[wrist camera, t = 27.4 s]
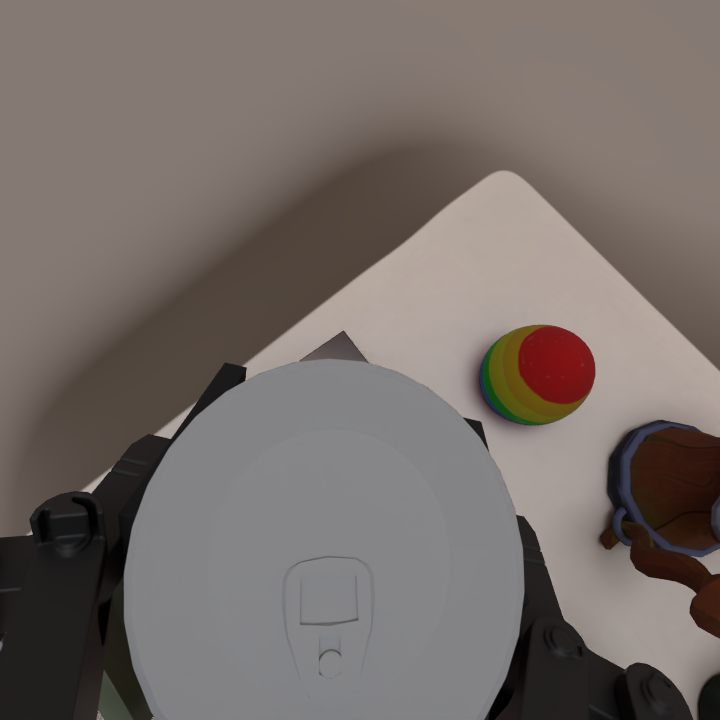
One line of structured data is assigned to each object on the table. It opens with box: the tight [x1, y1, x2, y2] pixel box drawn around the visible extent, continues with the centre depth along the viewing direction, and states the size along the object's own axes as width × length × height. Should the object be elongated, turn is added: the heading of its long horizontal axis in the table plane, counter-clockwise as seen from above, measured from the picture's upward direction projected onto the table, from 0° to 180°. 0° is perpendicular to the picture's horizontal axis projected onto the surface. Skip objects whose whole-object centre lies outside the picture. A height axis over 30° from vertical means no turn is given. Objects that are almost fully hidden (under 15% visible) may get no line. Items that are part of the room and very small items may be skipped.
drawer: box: [0, 576, 153, 720], centre depth 29 cm, size 18×11×8 cm, turn 127°
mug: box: [601, 420, 720, 638], centre depth 31 cm, size 18×12×15 cm, turn 124°
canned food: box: [124, 359, 524, 720], centre depth 13 cm, size 8×8×11 cm
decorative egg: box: [480, 325, 595, 425], centre depth 35 cm, size 8×8×10 cm
